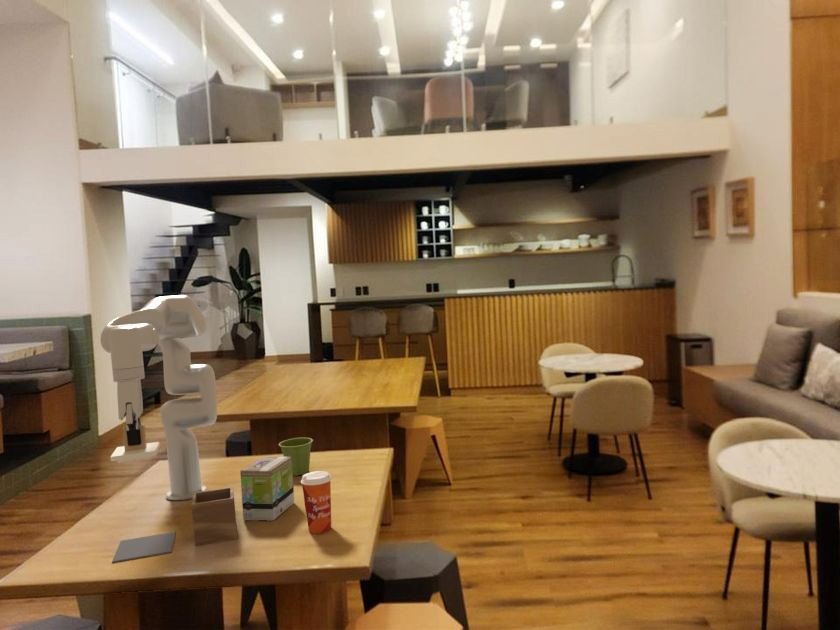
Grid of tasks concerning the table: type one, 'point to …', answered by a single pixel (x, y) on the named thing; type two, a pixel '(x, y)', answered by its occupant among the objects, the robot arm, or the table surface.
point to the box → (214, 516)
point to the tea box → (267, 488)
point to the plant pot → (298, 454)
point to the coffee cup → (317, 500)
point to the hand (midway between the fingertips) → (135, 443)
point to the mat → (144, 547)
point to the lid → (135, 449)
